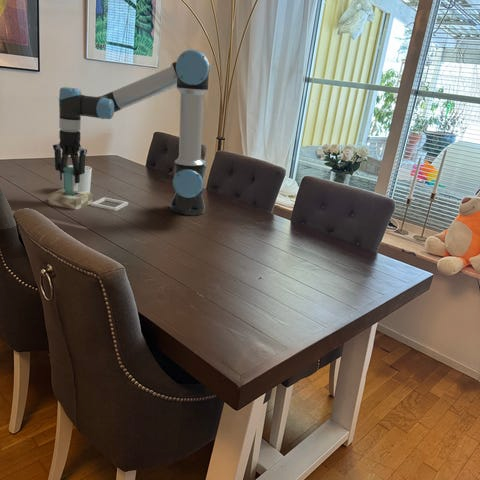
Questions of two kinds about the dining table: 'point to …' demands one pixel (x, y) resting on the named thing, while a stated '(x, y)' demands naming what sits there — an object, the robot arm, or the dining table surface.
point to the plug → (68, 180)
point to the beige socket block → (70, 199)
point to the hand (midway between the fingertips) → (69, 189)
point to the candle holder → (85, 179)
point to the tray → (96, 204)
